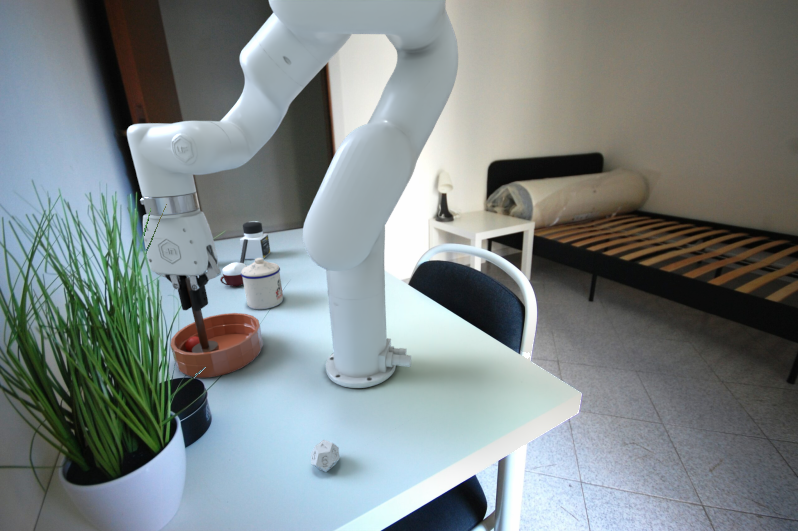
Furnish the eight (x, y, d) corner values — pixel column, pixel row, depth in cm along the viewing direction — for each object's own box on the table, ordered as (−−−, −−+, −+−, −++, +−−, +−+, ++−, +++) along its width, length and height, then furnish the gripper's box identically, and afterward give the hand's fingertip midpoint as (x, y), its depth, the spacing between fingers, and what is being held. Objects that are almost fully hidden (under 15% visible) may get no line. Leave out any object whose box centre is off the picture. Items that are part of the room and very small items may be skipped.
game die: (323, 482, 45) (321, 463, 44) (305, 465, 47) (303, 447, 46) (345, 463, 47) (344, 445, 46) (327, 448, 50) (326, 431, 49)
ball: (207, 337, 72) (195, 332, 73) (193, 341, 69) (182, 336, 70) (205, 351, 72) (194, 346, 73) (192, 356, 70) (180, 351, 71)
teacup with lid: (286, 305, 91) (280, 261, 87) (247, 313, 88) (239, 267, 84) (280, 288, 101) (274, 247, 97) (245, 294, 98) (237, 252, 94)
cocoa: (223, 291, 100) (215, 249, 96) (218, 284, 105) (210, 244, 101) (259, 283, 105) (252, 242, 101) (252, 276, 110) (246, 238, 106)
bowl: (276, 336, 77) (273, 315, 76) (234, 382, 63) (229, 358, 62) (211, 331, 80) (207, 310, 78) (157, 374, 66) (150, 350, 64)
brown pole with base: (224, 346, 71) (209, 274, 66) (209, 360, 67) (192, 283, 62) (203, 345, 72) (186, 273, 66) (187, 358, 68) (168, 282, 62)
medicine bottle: (263, 259, 125) (258, 224, 121) (242, 259, 125) (236, 225, 121) (270, 252, 132) (266, 219, 128) (251, 253, 132) (245, 220, 128)
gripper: (110, 208, 57) (140, 314, 64) (200, 210, 55) (222, 320, 61) (148, 200, 64) (172, 296, 71) (230, 201, 62) (247, 300, 68)
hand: (195, 306), depth 66 cm, fingers closed on brown pole with base, 1 cm apart
